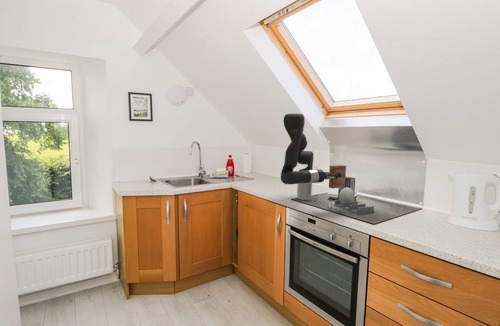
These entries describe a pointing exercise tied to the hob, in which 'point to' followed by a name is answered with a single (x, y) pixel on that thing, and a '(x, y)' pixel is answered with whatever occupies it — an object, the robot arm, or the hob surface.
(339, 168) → the walnut board
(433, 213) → the hob surface
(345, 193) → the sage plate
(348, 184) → the coffee box
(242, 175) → the hob surface
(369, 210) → the dish rack
